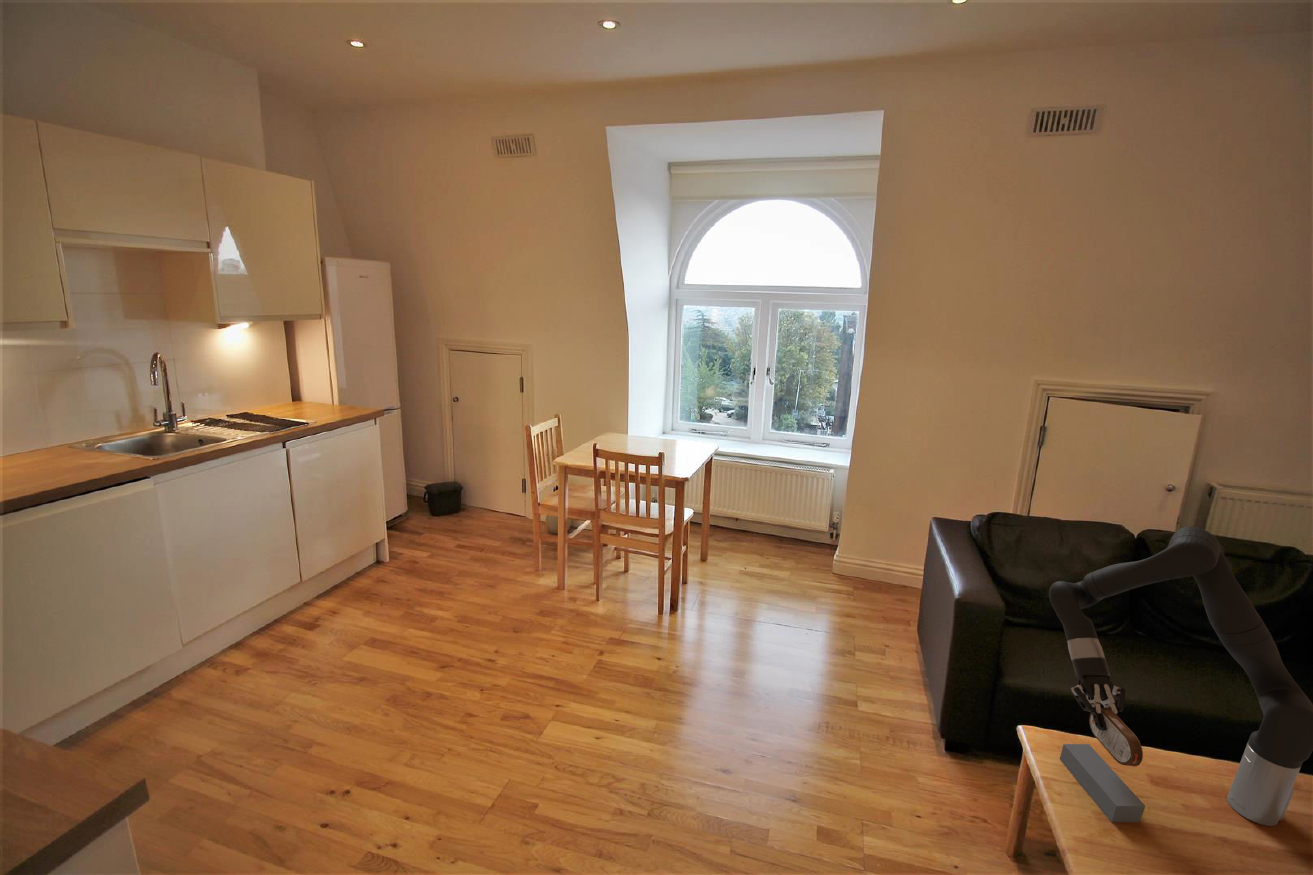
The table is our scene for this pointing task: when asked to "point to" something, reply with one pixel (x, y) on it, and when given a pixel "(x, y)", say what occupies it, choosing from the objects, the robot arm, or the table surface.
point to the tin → (1118, 739)
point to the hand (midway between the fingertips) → (1109, 729)
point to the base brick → (1102, 783)
